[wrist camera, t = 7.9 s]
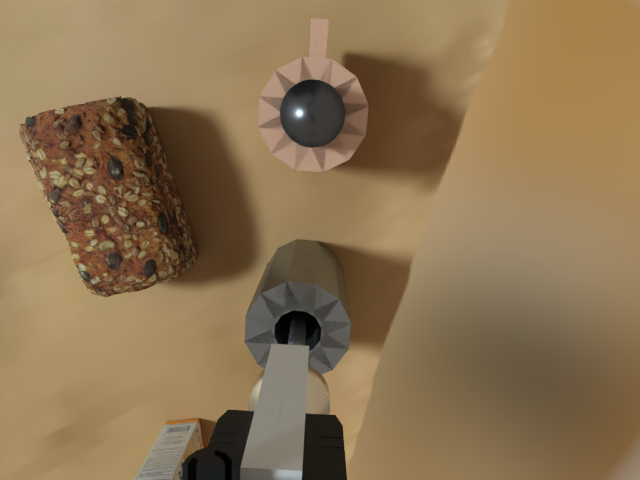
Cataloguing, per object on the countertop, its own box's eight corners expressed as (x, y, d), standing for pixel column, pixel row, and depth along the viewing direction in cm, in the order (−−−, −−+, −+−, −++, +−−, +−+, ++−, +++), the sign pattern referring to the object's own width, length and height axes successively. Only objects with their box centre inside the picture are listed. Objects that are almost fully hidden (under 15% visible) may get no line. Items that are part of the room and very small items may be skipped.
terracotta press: (272, 160, 46) (256, 167, 35) (277, 45, 44) (262, 10, 32) (351, 166, 47) (362, 175, 35) (362, 52, 44) (377, 19, 32)
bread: (65, 123, 46) (-4, 119, 36) (155, 99, 45) (110, 88, 35) (123, 278, 50) (76, 311, 40) (206, 257, 49) (179, 286, 40)
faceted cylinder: (264, 331, 51) (242, 406, 37) (268, 237, 49) (246, 278, 34) (336, 336, 52) (342, 412, 37) (344, 242, 49) (355, 286, 34)
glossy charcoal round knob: (289, 144, 43) (278, 145, 32) (291, 94, 42) (281, 76, 31) (336, 147, 43) (342, 150, 32) (340, 97, 42) (348, 82, 31)
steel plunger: (270, 342, 38) (247, 439, 26) (273, 292, 37) (249, 368, 25) (324, 346, 38) (326, 444, 26) (328, 296, 37) (332, 374, 25)
